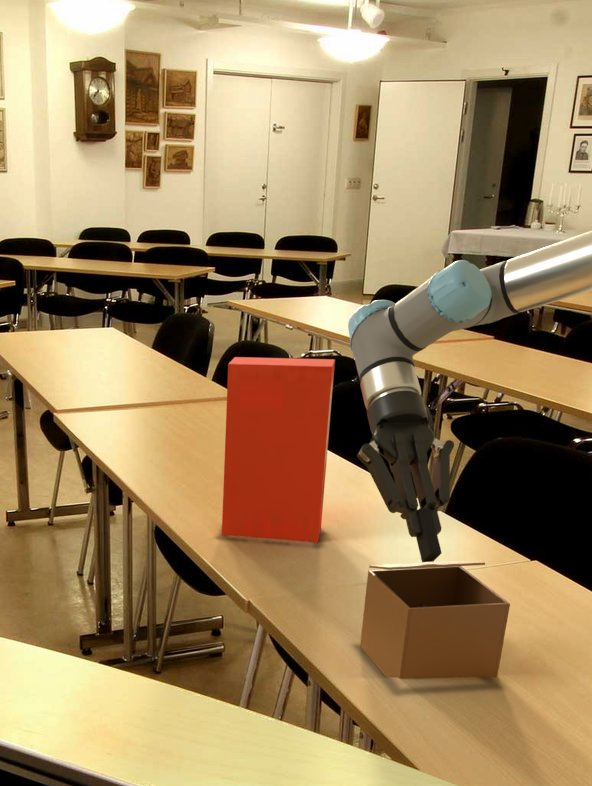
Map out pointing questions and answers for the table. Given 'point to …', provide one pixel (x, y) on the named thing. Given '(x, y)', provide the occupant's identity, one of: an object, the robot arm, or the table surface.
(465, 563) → the flap
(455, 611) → the carton
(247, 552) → the table surface
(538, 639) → the table surface
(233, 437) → the red rectangular block
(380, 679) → the table surface
